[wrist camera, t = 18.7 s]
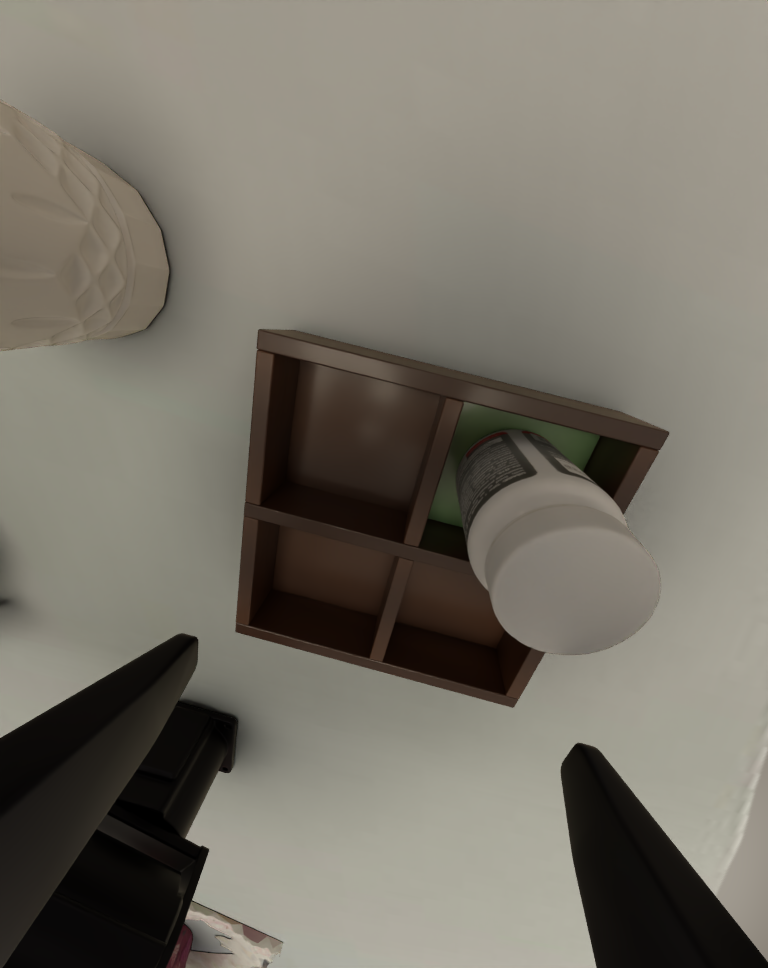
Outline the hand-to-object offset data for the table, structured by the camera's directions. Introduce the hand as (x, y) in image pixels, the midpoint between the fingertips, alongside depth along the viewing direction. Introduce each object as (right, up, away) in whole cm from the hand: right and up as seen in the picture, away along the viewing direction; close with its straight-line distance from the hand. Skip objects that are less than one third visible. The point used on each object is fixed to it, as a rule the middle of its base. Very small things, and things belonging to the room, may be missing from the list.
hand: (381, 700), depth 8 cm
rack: (+2, +3, +11) cm, 11 cm away
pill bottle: (+6, +5, +9) cm, 12 cm away
